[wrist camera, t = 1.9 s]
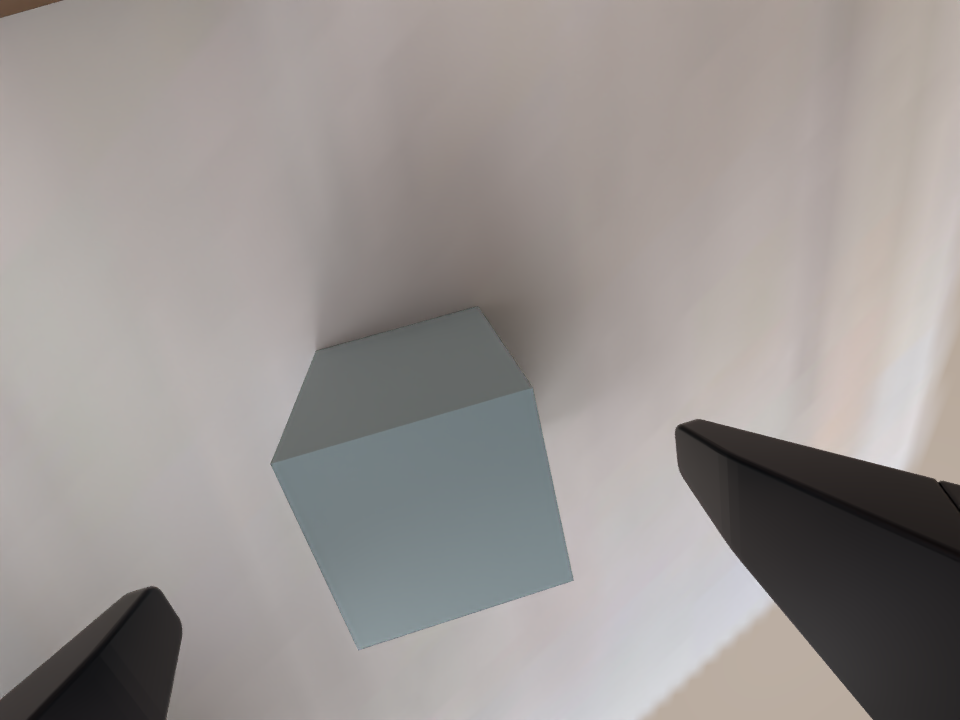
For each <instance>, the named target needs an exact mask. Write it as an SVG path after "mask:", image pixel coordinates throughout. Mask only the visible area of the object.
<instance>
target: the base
mask: <svg viewBox="0 0 960 720" xmlns="http://www.w3.org/2000/svg"><path fill="white" fill-rule="evenodd" d="M59 1H62V0H0V18H2V17H5V16H9V15H12V14H16V13H19V12H23V11H27V10H30V9H34V8H37V7H41V6H44V5H48V4H51V3H55V2H59Z"/></svg>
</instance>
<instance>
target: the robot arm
mask: <svg viewBox="0 0 960 720" xmlns="http://www.w3.org/2000/svg"><path fill="white" fill-rule="evenodd" d="M675 440H676V451H677V462H678V467H679V471H680V473H681V475H682V477H683V479H684V480H685V482H686V483H687V485H688V486H689V488H690V489H691V491H692V492H693V494H694V495H695V497H696V498H697V500H698V501H699V503H700V504H701V506H702V507H703V509H704V510H705V512H706V513H707V515H708V516H709V518H710V519H711V521H712V522H713V523H714V525H715V526H716V528H717V529H718V531H719V532H720V534H721V535H722V537H723V538H724V540H725V541H726V543H727V544H728V545H729V547H730V548H731V550H732V551H733V552H734V553H735V555H736V556H737V557H738V558H739V560H740V561H741V562H742V563H743V565H744V566H745V567H746V568H747V569H748V570H749V572H750V573H751V574H752V575H753V576H754V578H755V579H756V580H757V581H758V582H759V584H760V585H761V586H762V587H763V588H764V590H765V591H766V592H767V593H768V594H769V596H770V597H771V598H772V599H773V600H774V602H775V603H776V604H777V605H778V606H779V608H780V609H781V610H782V611H783V612H784V614H785V615H786V616H787V617H788V618H789V620H790V621H791V622H792V623H793V624H794V625H795V627H796V628H797V629H798V630H799V632H800V633H801V634H802V635H803V636H804V638H805V639H806V640H807V641H808V642H809V644H810V645H811V646H812V647H813V648H814V650H815V651H816V652H817V653H818V654H819V656H820V657H821V658H822V659H823V660H824V661H825V663H826V664H827V665H828V666H829V667H830V669H831V670H832V671H833V672H834V674H835V675H836V676H837V677H838V678H839V680H840V681H841V682H842V683H843V684H844V685H845V687H846V688H847V689H848V690H849V691H850V693H851V694H852V695H853V696H854V697H855V699H856V700H857V701H858V702H859V703H860V705H861V706H862V707H863V708H864V709H865V711H866V712H867V713H868V714H869V715H870V717H871V718H872V719H873V720H960V485H957V484H954V483H950V482H946V481H940V482H937V481H936V480H935V479H933V478H930V477H926V476H922V475H918V474H914V473H910V472H906V471H902V470H898V469H894V468H890V467H886V466H882V465H878V464H875V463H871V462H867V461H863V460H859V459H855V458H851V457H847V456H843V455H839V454H835V453H831V452H827V451H823V450H819V449H816V448H812V447H808V446H804V445H800V444H796V443H792V442H788V441H784V440H780V439H776V438H772V437H768V436H764V435H760V434H757V433H753V432H749V431H745V430H741V429H737V428H733V427H729V426H725V425H721V424H717V423H713V422H709V421H705V420H701V419H696V420H692V421H689V422H686V423H683V424H679V425H678V426H677V427H676V430H675ZM181 640H182V624H181V621H180V619H179V617H178V616H177V614H176V613H175V611H174V610H173V608H172V606H171V605H170V603H169V602H168V600H167V599H166V597H165V596H164V594H163V593H162V591H161V590H160V589H159V588H157V587H154V586H149V587H146V588H143V589H140V590H136V591H133V592H130V593H128V594H126V595H124V596H123V597H122V598H120V599H119V600H118V601H117V602H116V603H114V604H113V605H112V606H111V607H110V608H109V609H107V610H106V611H105V612H104V613H103V614H101V615H100V616H99V617H98V618H97V619H96V620H94V621H93V622H92V623H91V624H90V625H88V626H87V627H86V628H85V629H84V630H83V631H81V632H80V633H79V634H78V635H77V636H75V637H74V638H73V639H72V640H71V641H69V642H68V643H67V644H66V645H65V646H64V647H62V648H61V649H60V650H59V651H58V652H56V653H55V654H54V655H53V656H52V657H51V658H49V659H48V660H47V661H46V662H45V663H43V664H42V665H41V666H40V667H39V668H38V669H36V670H35V671H34V672H33V673H32V674H30V675H29V676H28V677H27V678H26V679H25V680H23V681H22V682H21V683H20V684H19V685H17V686H16V687H15V688H14V689H13V690H11V691H10V692H9V693H8V694H7V695H6V696H4V697H3V698H2V699H1V700H0V720H166V717H167V712H168V707H169V702H170V697H171V691H172V686H173V681H174V676H175V671H176V665H177V660H178V655H179V650H180V645H181Z"/></svg>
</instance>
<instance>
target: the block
mask: <svg viewBox="0 0 960 720" xmlns="http://www.w3.org/2000/svg"><path fill="white" fill-rule="evenodd" d="M271 466H272V468H273V470H274V472H275V474H276V477H277V479H278V481H279V483H280V485H281V487H282V489H283V491H284V494H285V496H286V498H287V500H288V502H289V504H290V506H291V508H292V511H293V513H294V515H295V517H296V519H297V521H298V523H299V525H300V528H301V530H302V532H303V534H304V536H305V538H306V540H307V542H308V545H309V547H310V549H311V551H312V553H313V555H314V557H315V559H316V561H317V564H318V566H319V568H320V570H321V572H322V574H323V576H324V578H325V581H326V583H327V585H328V587H329V589H330V591H331V593H332V595H333V598H334V600H335V602H336V604H337V606H338V608H339V610H340V612H341V615H342V617H343V619H344V621H345V623H346V625H347V627H348V629H349V632H350V634H351V636H352V638H353V640H354V642H355V644H356V646H357V649H358V650H361V649H364V648H367V647H370V646H373V645H376V644H379V643H382V642H385V641H388V640H392V639H395V638H398V637H401V636H404V635H407V634H410V633H413V632H416V631H419V630H422V629H426V628H429V627H432V626H435V625H438V624H441V623H444V622H447V621H450V620H453V619H456V618H460V617H463V616H466V615H469V614H472V613H475V612H478V611H481V610H484V609H487V608H490V607H494V606H497V605H500V604H503V603H506V602H509V601H512V600H515V599H518V598H521V597H524V596H527V595H531V594H534V593H537V592H540V591H543V590H546V589H549V588H552V587H555V586H558V585H561V584H565V583H568V582H571V581H574V580H573V575H572V571H571V566H570V561H569V557H568V552H567V547H566V542H565V538H564V533H563V528H562V524H561V519H560V514H559V509H558V505H557V500H556V495H555V490H554V486H553V481H552V476H551V472H550V467H549V462H548V457H547V453H546V448H545V443H544V438H543V434H542V429H541V424H540V420H539V415H538V410H537V405H536V401H535V396H534V391H533V387H532V386H531V384H530V383H529V381H528V380H527V378H526V377H525V375H524V374H523V372H522V371H521V369H520V368H519V366H518V365H517V364H516V362H515V361H514V359H513V358H512V356H511V355H510V353H509V352H508V350H507V349H506V347H505V346H504V344H503V343H502V341H501V340H500V338H499V337H498V335H497V334H496V332H495V331H494V329H493V328H492V326H491V325H490V323H489V322H488V320H487V319H486V317H485V316H484V314H483V313H482V312H481V310H480V309H479V307H478V306H477V307H473V308H470V309H466V310H463V311H459V312H455V313H452V314H448V315H445V316H441V317H437V318H434V319H430V320H426V321H423V322H419V323H416V324H412V325H408V326H405V327H401V328H397V329H394V330H390V331H387V332H383V333H379V334H376V335H372V336H369V337H365V338H361V339H358V340H354V341H350V342H347V343H343V344H340V345H336V346H332V347H329V348H325V349H321V350H318V351H316V352H315V355H314V357H313V360H312V362H311V365H310V367H309V370H308V372H307V375H306V377H305V380H304V382H303V385H302V387H301V390H300V392H299V394H298V397H297V399H296V402H295V404H294V407H293V409H292V412H291V414H290V417H289V419H288V422H287V424H286V427H285V429H284V432H283V434H282V437H281V439H280V442H279V444H278V447H277V449H276V452H275V454H274V457H273V459H272V462H271Z"/></svg>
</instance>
